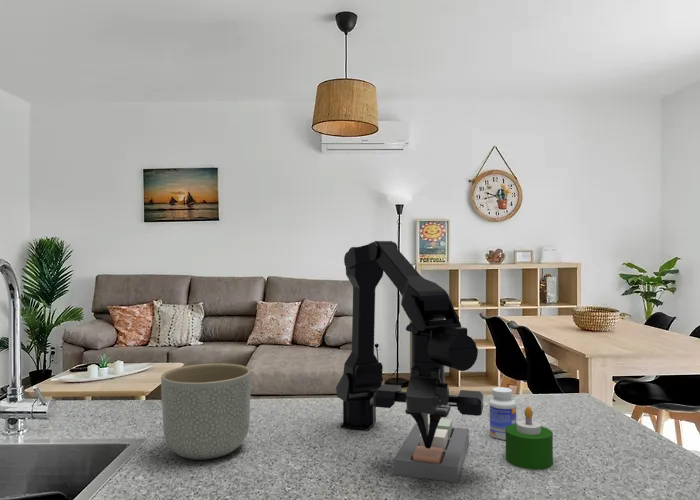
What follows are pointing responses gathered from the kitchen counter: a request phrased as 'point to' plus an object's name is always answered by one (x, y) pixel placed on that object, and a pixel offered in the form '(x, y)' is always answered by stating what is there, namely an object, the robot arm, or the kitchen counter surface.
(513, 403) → the pill bottle
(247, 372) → the planter
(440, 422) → the key sage
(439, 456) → the key terracotta
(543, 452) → the candle
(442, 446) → the key white
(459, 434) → the keypad
